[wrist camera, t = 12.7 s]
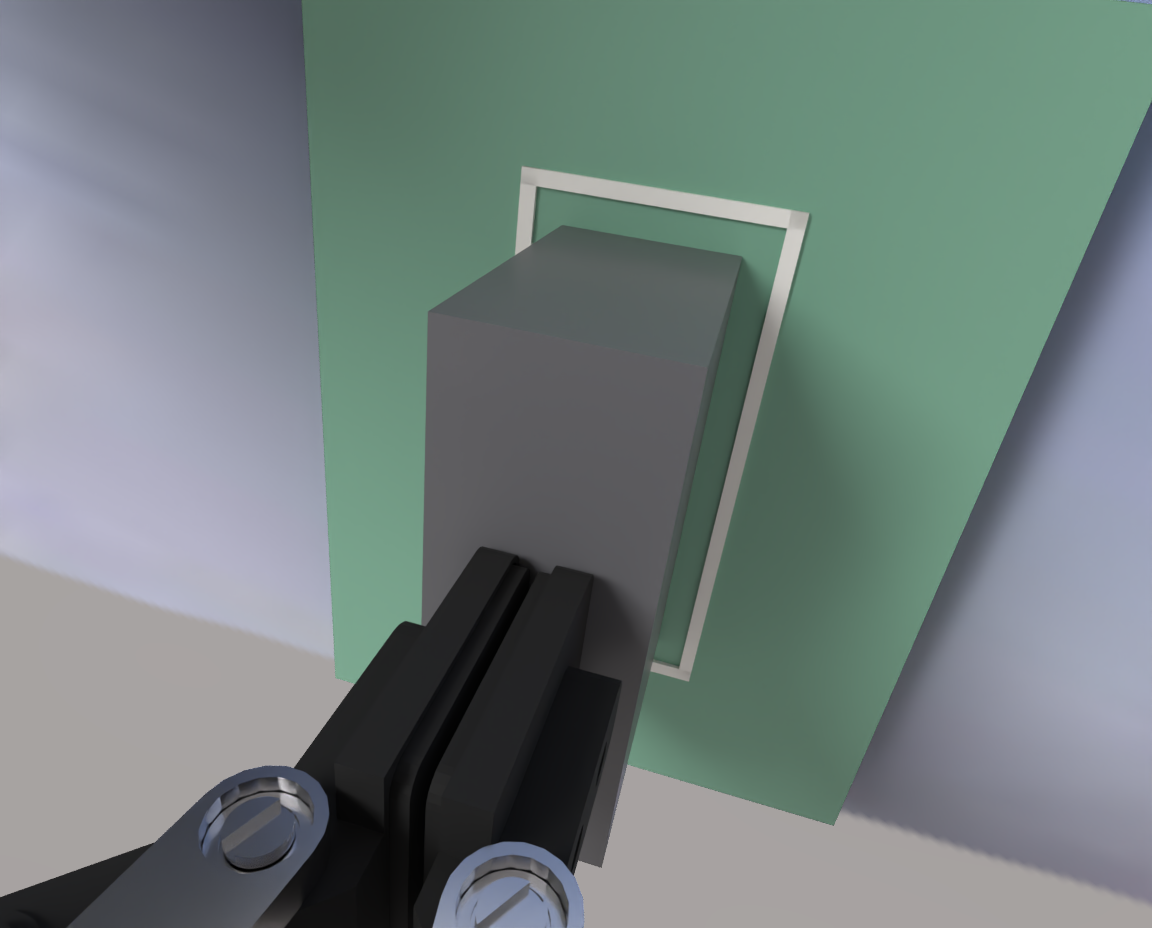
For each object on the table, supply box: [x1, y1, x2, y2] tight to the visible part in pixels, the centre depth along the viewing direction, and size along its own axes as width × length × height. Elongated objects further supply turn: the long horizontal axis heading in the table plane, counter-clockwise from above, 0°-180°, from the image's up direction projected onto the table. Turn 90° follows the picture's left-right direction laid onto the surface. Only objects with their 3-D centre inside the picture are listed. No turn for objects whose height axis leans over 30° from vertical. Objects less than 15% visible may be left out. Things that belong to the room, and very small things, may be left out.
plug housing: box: [421, 225, 742, 867], centre depth 14 cm, size 3×9×6 cm, turn 173°
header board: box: [301, 0, 1152, 825], centre depth 15 cm, size 14×18×5 cm
